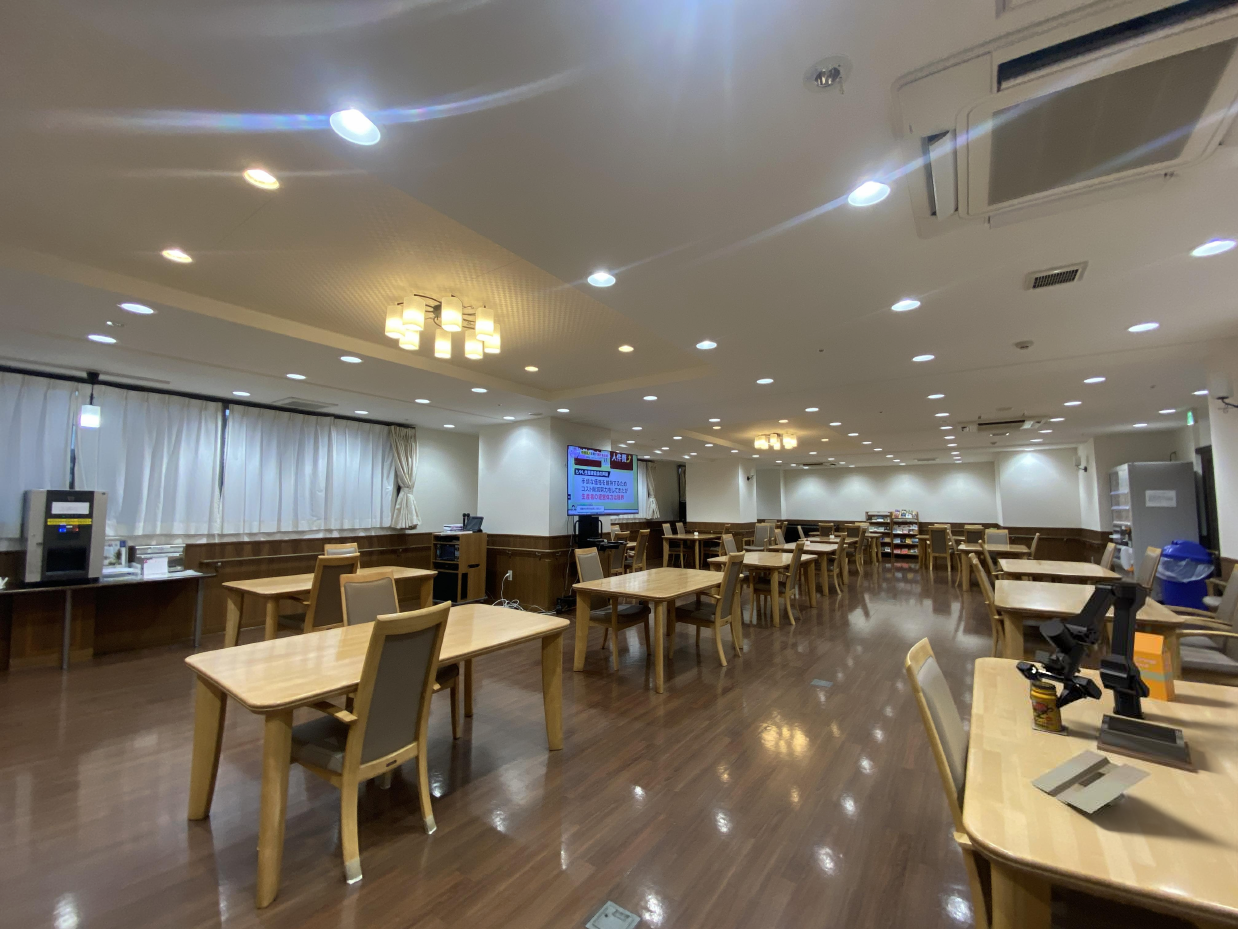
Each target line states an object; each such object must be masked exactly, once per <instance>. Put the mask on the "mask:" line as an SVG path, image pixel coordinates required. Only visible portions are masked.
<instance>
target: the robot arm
mask: <svg viewBox="0 0 1238 929" xmlns="http://www.w3.org/2000/svg"><path fill="white" fill-rule="evenodd" d="M1148 593H1149V592H1148V589H1147V588H1146V587H1145V586H1144V585H1143V584H1142V583H1140V582H1133V581H1122V580H1121V581H1120V580H1112V581H1110V582H1097V583H1095V585H1094V591H1093V592H1092V594H1091V595H1090V597H1089V598H1088V600H1087V601H1086V603H1085V604H1084V605H1083V608H1082V609H1081V611H1080V612H1079V613H1078V614H1076V615H1073V616H1070V617H1069V618H1068V619H1067V620H1066V621H1064V620H1063V619H1062V618H1058V617H1053V618H1052V619H1051V620H1047V621H1045V622H1043V623H1042V624H1040V625H1039V632H1041V634H1042V635H1043V636H1044V638H1046V640H1047V641H1048V642H1049V644H1051V645H1052V647H1054V648H1056V650H1055V651H1054V653H1051V652H1046V651H1042V650H1038V649H1036V650H1035V653H1034V658H1033V661H1034V662H1035V663H1039V664H1041V665H1040V667H1041V668H1042V669H1043V670H1040V669H1039V668H1038V667H1037V665H1035V664H1034V663H1032V662H1031V663H1030V662H1027V661H1023V660H1020V661H1018V662H1017V664H1016V665H1015V669H1017V671H1019V673H1020V674H1021V675H1022V676H1023V677H1024V678H1025V679H1026V680H1028V681H1029V698H1030V700H1031V701H1032V698H1031V692H1032V682H1033V681H1043V680H1044V679H1045V680H1048V681H1052V682H1056V683H1059V684H1062V686H1063V688H1062V690H1061V693H1060V695H1058V696H1059V698H1058V700H1057V702H1056V705H1055V706H1056V708H1058V709H1060V710H1061V709H1062V708H1064V707H1066V706H1068V705H1070V704H1072V703H1075V702H1077V701H1079V700H1082V699H1085V700H1086V699H1088V698H1089V699H1094V700H1096V701H1097V700H1098V701H1099V700H1100V699H1101V698H1102V696H1103V692H1102V689H1101V688H1100V687H1099V686H1098V685H1097V683H1096V682H1095V681H1094V680H1093V679H1092V678H1089V677H1087V676H1086V677H1085V676H1082V675H1078V674H1081V671H1082V670H1081V669H1080V668H1079V667H1081V664H1082V662H1083V660H1084V658H1088V659H1090V658H1091V654H1090V652H1089V651H1088V648H1087V647H1085V646H1084V645H1088V646H1089V645H1090V646H1096V645H1097V644H1098V642H1099V641H1100V640H1101V636H1102V633H1103V632H1102V629H1101V624H1102V621H1104V619H1105V617H1106V615H1107V614H1108V612H1109V611H1110V609H1111V608H1112V607H1113V615H1112V616H1113V617H1112V629H1111V641H1110V642H1111V643H1110V654H1109V656H1107V657H1106V658H1102V659H1101V660H1100V669H1099V672H1098V673H1099V678H1100V681H1101V683H1102V687H1103V689H1105V690H1110V691H1112V694H1113V704H1114V706H1113V707H1112V713H1113V714H1115V715H1121V716H1124V717H1131V718H1136V719H1141V720H1145V712H1144V711H1143V709H1142V700H1141V698H1143V699H1147V698H1148V699H1149V697H1148V696H1149V694H1150V689H1149V687H1148V686H1147V685H1146V684H1145V683H1144V682H1143V680H1142V679H1141V675H1140V670H1139V669H1138V667H1137V666H1136V664H1135V663H1134V661H1133V657H1134V643H1135V632H1136V628H1137V627H1136V626H1137V615H1138V612H1139V611H1140V610H1141V609H1143V608H1144V607H1145V605H1146V601H1147V598H1148V595H1149V594H1148ZM1083 644H1084V645H1083ZM1044 670H1045V671H1044ZM1076 673H1077V674H1076Z"/></svg>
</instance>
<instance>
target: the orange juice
mask: <svg viewBox="0 0 1238 929" xmlns="http://www.w3.org/2000/svg"><path fill="white" fill-rule="evenodd" d="M1171 657H1172V656H1171V651H1170V649H1169V647H1168V644H1167V642H1166V639H1165V637H1164V635H1160V634H1153V633H1146V632H1140V631H1135V643H1134V657H1133V661H1134V663H1135V664H1136V666H1137V667H1138V669H1139V670H1140V675H1141V679H1142V680H1143V682H1144V683H1145V684H1146V685H1147V686H1148V687H1149V689H1150V694H1149V696H1148V699H1149V698H1150V699H1152V700H1153V699H1154V700H1159V701H1163V702H1169V701H1171V700H1173V699H1176V698H1177V697H1176V691H1175V690H1176V689H1175V684H1174V672H1173V666H1172V658H1171Z"/></svg>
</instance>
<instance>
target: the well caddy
mask: <svg viewBox="0 0 1238 929" xmlns="http://www.w3.org/2000/svg"><path fill="white" fill-rule="evenodd" d="M1184 740H1185V739H1184V733H1183V729H1181V728H1180V729H1179V728H1174V727H1170V726H1164V725H1160V724H1154V723H1150V722H1144V721H1139V720H1136V719H1135V720H1134V719H1130V718H1125V717H1121V716H1115V715H1111V714H1106V713H1103V715H1102V719H1101V724H1100V728H1099V733H1098V738H1097V741H1096V742H1097V743H1096V749H1097V750H1099V751H1102V752H1107V753H1111V754H1116V755H1119V756H1123V757H1127V758H1132V759H1136V760H1140V761H1144V762H1149V763H1152V764H1156V765H1161V766H1163V767H1169V768H1173V769H1178V770H1181V771H1185V772H1189V773H1194V768H1193V763H1192V758H1191V752H1190V746H1189V742H1188V741H1186V740H1185V741H1184Z"/></svg>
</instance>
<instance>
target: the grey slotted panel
mask: <svg viewBox="0 0 1238 929" xmlns="http://www.w3.org/2000/svg"><path fill="white" fill-rule="evenodd" d="M1151 775H1152V773H1151V772H1149V771H1146V770H1143V769H1141V768H1138V767H1135V766H1133V765H1130V764H1127V763H1123V764H1121V765H1118V764H1117V763H1114V762H1111V761H1110V759H1109V758H1108V757H1107V756H1105V755H1103V754H1100V753H1099V752H1094V751H1093V750H1089V749H1086V750H1085V751H1083V752H1081V753H1078V754H1077V755H1075V756H1073V757H1072V758H1070V759H1068V760H1066V761H1065V762H1063V763H1061V764H1060V765H1058V766H1056V767H1054V768H1053V769H1051V770H1049V771H1047V772H1046V773H1043V774H1042V775H1040V776H1039V777H1037V778H1035V779H1033V780H1031V781H1029V782H1030V783H1031V785H1032V786H1035V787H1036V788H1039V790H1042V791H1044V792H1046V793H1048V794H1049V795H1050V797H1054V798H1055V799H1056V800H1058V801H1059V802H1062V803H1064V804H1066V805H1068V804H1070V805H1073V806H1074V807H1076V808H1078V809H1081V810H1083V811H1084V812H1087V813H1089V814H1093V812H1095V811H1097V810H1098V809H1099V808H1101V807H1102V806H1103V807H1104V805H1108V806H1109V807H1113V806H1114V805H1116V804H1117V803H1119V802H1121V801H1122V800H1124V799H1125V798H1126V796H1125V794H1124V792H1125V791H1128V790H1129V789H1131V787H1134V786H1135V785H1137V784H1138V783H1140V782H1142V781H1143V780H1145V779H1146V778H1148V777H1150V776H1151Z"/></svg>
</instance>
